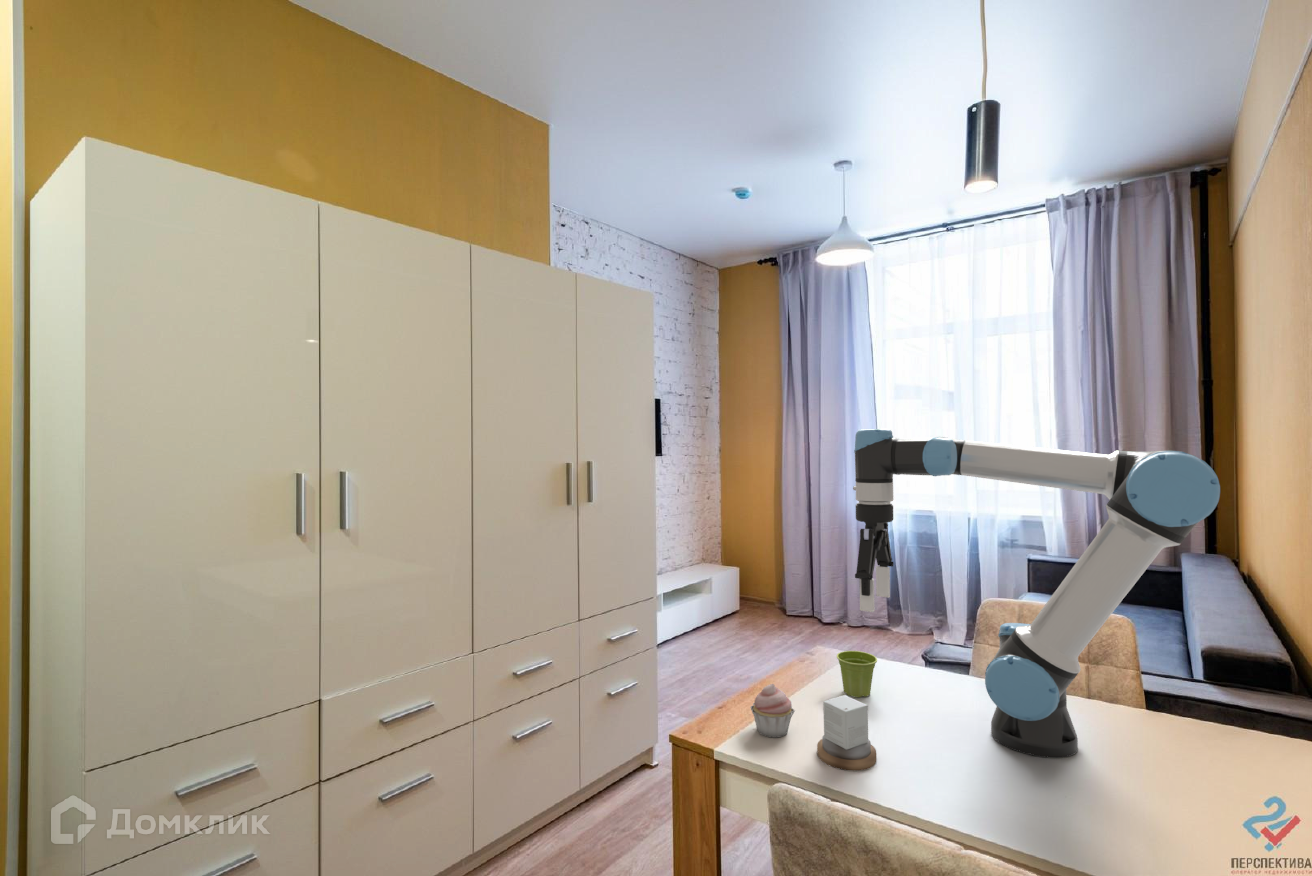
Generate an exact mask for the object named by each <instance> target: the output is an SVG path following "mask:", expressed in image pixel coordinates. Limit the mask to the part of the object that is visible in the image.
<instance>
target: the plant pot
mask: <svg viewBox="0 0 1312 876" xmlns="http://www.w3.org/2000/svg"><path fill="white" fill-rule="evenodd" d="M836 658H837V659H836V660H838V663H839V667H840V673H841V679H842V688H843V692H844V693H845V695H846V696H848V697H854V698H861V697H865V698H866V697H870V695H871V691H872V683H873V675H874V669H875V667H876V663H877V662H878V657H876V656H875V655H874V654H871V653H868V652H865V651H861V650H860V651H859V650H845V651H840V652H838V653H837V654H836Z"/></svg>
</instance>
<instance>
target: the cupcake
mask: <svg viewBox="0 0 1312 876" xmlns="http://www.w3.org/2000/svg"><path fill="white" fill-rule="evenodd" d="M792 707H793V705H792V701H791V700H790V698H789V697H788V696H787V694H786V693H785V692H784V690H781V689H780V688H778V687H776V686H775V684H774V683H770V684H768V685H766V686H764V687H763V689H761V692H758V694H757V695H756V696H755V698H754V702H753V703H752V705H751V706H750V710H751V713H752V716H753V717H754V721H755V726H756V729H757V730H756V731H757V732H758V733H759V734H760V735H762V736H764V737H768V738H780V737H784V736H786V735H787V734H788V731H789V727H790V722H791V719H792V717H793V715H794V714H795V711H796V709H795V708H792Z"/></svg>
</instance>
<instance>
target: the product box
mask: <svg viewBox="0 0 1312 876" xmlns="http://www.w3.org/2000/svg"><path fill="white" fill-rule="evenodd" d="M822 705H823V735H824V738H825V739H827V740H829V741H831V742H833V743H835V744H837V745H838V746H840V747H842V748H844V749H846V750H847V749H851V748H854V747H856V746H859V745H862V744H865V743H868V739H869V715H868V714H869V712H868V711H869V710H868V709H869V708H868V707H869V706H868V705H867V704H865V703H863V702H861V701H859V700H857V699H854V698H852V697H851V696H849V695H847V694H844V695H840V696H836V697H833V698H830V699H827V700H824V701H823V703H822Z"/></svg>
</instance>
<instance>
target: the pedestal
mask: <svg viewBox="0 0 1312 876" xmlns="http://www.w3.org/2000/svg"><path fill="white" fill-rule="evenodd" d="M816 750H817V751H816V753H817V758H818V759H819V760H820V761H821V762H822V763H824V764H825V765H827V766H829V767H832V768H835V769H837V770H838V769H839V770H844V771H853V772H857V771H858V772H859V771H865V770H869V769H871V768H873V767H874V766H876V763H877V749H876V748H875V746H873V744H872V743H871V740H870V739H869V738H868V743H865V744H862V745H859V746H856V747H854V748H851V749H847V750H846V749H844V748H842V747H840V746H838V745H837V744H835V743H833V742H831V741H829V740H827V739H825V738H824V734H823V736H822V737H821V739H820V740H819V741H818V742H817V744H816Z"/></svg>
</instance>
